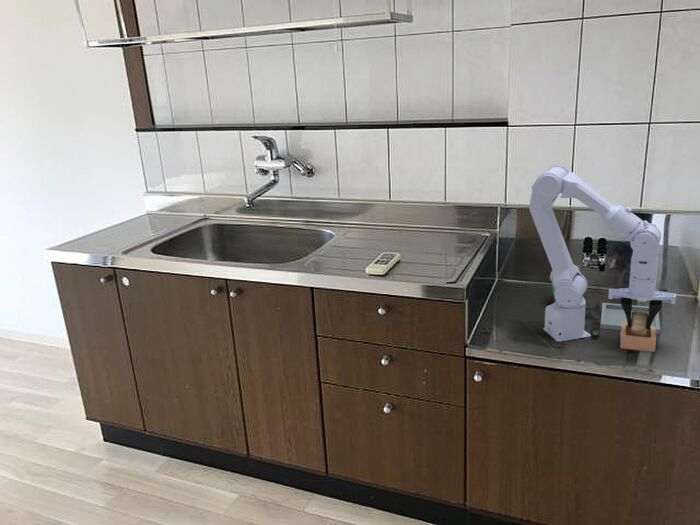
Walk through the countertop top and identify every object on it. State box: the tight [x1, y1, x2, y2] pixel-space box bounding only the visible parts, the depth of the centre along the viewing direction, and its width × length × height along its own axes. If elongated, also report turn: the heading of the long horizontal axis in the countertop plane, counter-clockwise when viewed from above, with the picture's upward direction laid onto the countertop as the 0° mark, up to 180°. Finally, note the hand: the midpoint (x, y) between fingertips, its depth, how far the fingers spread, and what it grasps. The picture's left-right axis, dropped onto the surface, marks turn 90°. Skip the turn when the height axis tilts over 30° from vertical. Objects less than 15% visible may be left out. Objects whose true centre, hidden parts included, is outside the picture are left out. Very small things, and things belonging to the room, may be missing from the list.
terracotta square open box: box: [619, 323, 657, 353], centre depth 147 cm, size 8×8×4 cm
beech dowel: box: [630, 311, 648, 337], centre depth 146 cm, size 4×4×8 cm
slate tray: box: [599, 302, 661, 335], centre depth 159 cm, size 14×14×2 cm
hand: (638, 326), depth 146 cm, fingers closed on beech dowel, 4 cm apart
